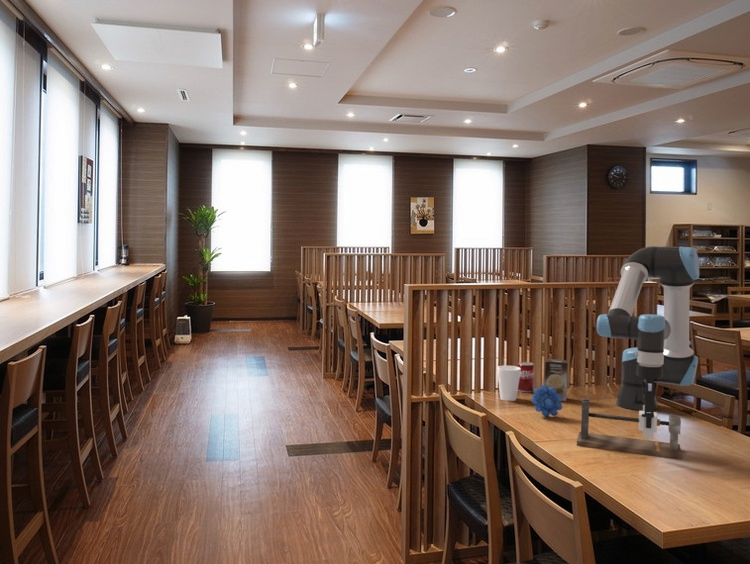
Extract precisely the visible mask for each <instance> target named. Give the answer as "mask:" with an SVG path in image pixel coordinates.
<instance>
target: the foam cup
mask: <svg viewBox="0 0 750 564" xmlns="http://www.w3.org/2000/svg"><path fill="white" fill-rule="evenodd" d="M496 369H497V370H496V371H497V372H496V373H497V380H498V387H499V396H500V400H502V401H506V402H514V401H516V400H517V396H518V392H519V391H518V385H519V378H520V374H521V368H519V367H517V366H515V365H498V366H497V368H496Z"/></svg>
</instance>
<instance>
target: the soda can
mask: <svg viewBox="0 0 750 564" xmlns="http://www.w3.org/2000/svg"><path fill="white" fill-rule="evenodd" d="M516 367H519V368H521V374H520V378H519V385H518V391H517V392H521V393H534V389H535V364H534V363H533V362H530V361H529V362H526V361H520V362H519V361H518V363H517V366H516Z"/></svg>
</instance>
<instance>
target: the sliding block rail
mask: <svg viewBox="0 0 750 564" xmlns="http://www.w3.org/2000/svg"><path fill="white" fill-rule="evenodd" d="M590 417H591V418H599V419H608V420H614V421H623V422H624V421H625V422H633V423H639V417H629V416H621V415H612V414H602V413H594V412H590V399H588V398H582V400H581V419H580V421H581V423H580V424H581V426H580V429H581V430H580V431H579V432H578V436H577V439H576V446H580V447H585V446H588V447H587V448H593V447H594V448H595V449H600V448H601V450H602V449H603V450H611V451H617V452H624V453H630V454H639V455H646V456H655V457H662V458H669V459H675V460H677V459H678V460H683V452H682V449H681V444H679V435H681V428H682V427H681V426H682V425H681V423H682V419H681V416H680V415H673V414H668V421H666V420H664V421H663V420H661V419H660V418H659V419H658V418H657V426H658V427H660V426H668V433H669V442H664V441H658V440H649V439H647V440H646V439H640V438H631V437H624V436H617V435H606V434H601V433H600V434H599V433H593V432H589V427H590V426H589V422H590ZM594 448H593V449H594Z"/></svg>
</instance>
